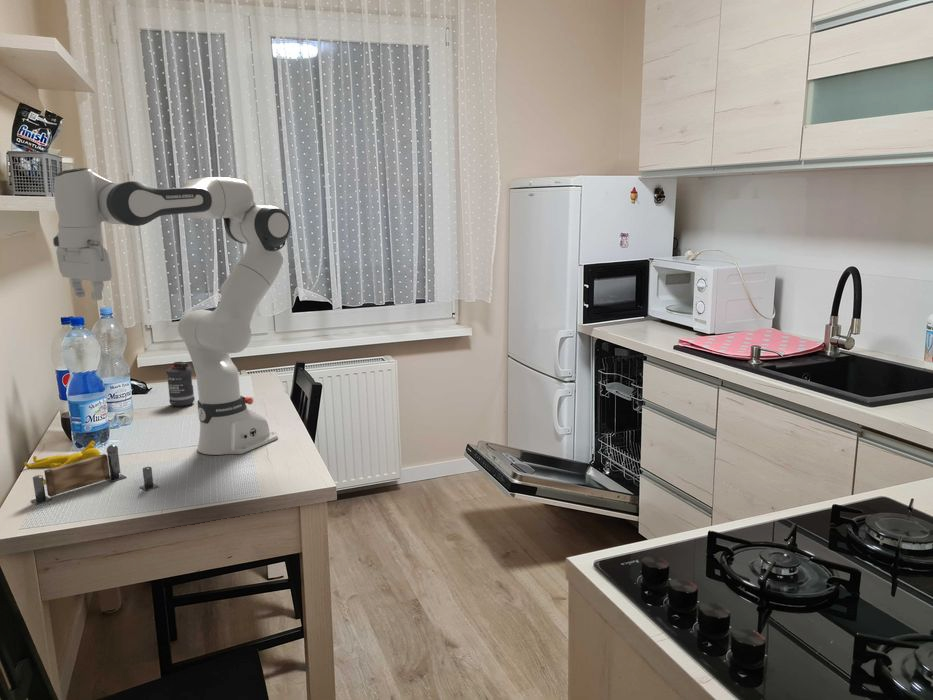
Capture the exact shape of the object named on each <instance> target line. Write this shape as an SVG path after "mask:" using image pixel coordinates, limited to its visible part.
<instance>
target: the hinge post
mask: <svg viewBox="0 0 933 700" xmlns="http://www.w3.org/2000/svg"><path fill="white" fill-rule="evenodd" d="M106 453H107V454H106V455H107V457H108V465H109V473H110V479H108V480H107V481H108V482H111V483H114V482H117V481H120V480H123V479H126V478H127V476H125V475H124V474H122V473H121V465H120V457H119V447H118V446H117V445H116V444H110V445H108V446H107V448H106Z"/></svg>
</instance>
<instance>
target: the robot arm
mask: <svg viewBox="0 0 933 700" xmlns="http://www.w3.org/2000/svg"><path fill="white" fill-rule="evenodd" d="M53 195H54V204H55V205H54V206H55V210H56V212H57V215H58V224H57V226H58V227H57V230H58V232H57V234H56V235H55V236H54V237H53V238H52V243H53V244H52V245H53V247H55V248H56V258H57V259H56V260H57V263H58V268H59V272H60V274H61V276H62V277H63V278H69V282H70V284H71V286H72V289H73V292H74V297H76V298H84V297H85V296H86V293H85V291H86V290H85V289H84V288H83V285H82V282H83V281H90V282H91V286H92V292H90V294H91V299H92V300H94V301H102V300H103V289H104V285H105V284H104V282H110V281H111V280H112V276H113V273H112V266H111V261H110V256H109V252H108V251H107V249H106V248H104V240H103V231H102V223H106V224H110V225H128V226H134V227H139V226H143V225H144V226H145V225H147V224H148V223H150V222H152V221H153V220H155V219H158V217H162V216H170V215H171V216H172V215H182V214H183V215H184V214H187V216H189V217H190V218H192V219H197V220H220V219H221V220H222V219H223V225H224V229H225V232H226V234H227V236H228V237H229V238H230V239H231V240H232V241H234V242H236V243H240V244H244V245H246V247H245V252H244V254H243V257H241V259H240V260H239V261H238V263H237V264H236V265H235V266H234V268H233V270H232V271H231V272H230V273H229V274H228V276H227V278H226V279H225V280H224V281H223V283H222V284H221V286H220V294H221V297H220V299H219V301H218V304H217V306H216V308H215V309H214V310H208V309H197V310H196V309H195V310H191V311H189V312H186V313H184V314H183V315H182V316H181V318H180V319H179V321H178V325H177V333H178V335H179V337H180V338H181V340H182V341H183V343H184V344H185V346H186V348H187V352H188V354H189V357H190V360H191V362H192V365H193V369H194V372H195V377H196V384H197V385H196V386H197V393H198V394H197V395H198V400H197V411H198V413H197V414H198V415H197V416H198V420H199V437H198V443H197V448H196V450H197V451H198V453H201V454H204V455H212V456H213V455H215V456H217V455H218V456H221V455H230V454H231V455H241V454H245V453H247V452H249V451H252V450H254V449H256V448H259V447H262V446H264V445H266V444H269V443H270V442H273V441H276V440H277V439H278V438H279V436H278V433H277V432H275V431H274V430H271V429H270V427H269V423H268V421H267V419H266V418H265V416H263V415H261V414H259V413H257V412H256V411H254V410H253V409H251V408H249V407H248V406H247V405H252V404H253V403H254V402H255V401H254V398H253V397H251V396H246V397H245V396H242V395H241V388H240V377H239V370H238V368H237V366H236V365H235V363H233V361H232V358H231V356H230V355H232V354H238V353H241V352H243V351H244V350H245V349H247V347H248V346H249V344H250V342H251V341H252V329H251V322H252V320H253V316H254V313H255V311H256V310H257V308H258V306H259V304H260V303H261V301H262V300H263V299H264V296H265V295H266V294H267V293H268V291H269V290H270V288H271V287H272V285H273V283H275V280H276V278H277V277H278V275H279V273H280V271H281V268H282V266H283V263H284V257H283V254H282V252H281V251H280V250H281V249H282V248H283V247H285V246H286V242H287V241H286V240H287V239H288V238H289V235H290V231H291V220H290V216H289V215H288V213H287V212H286V211H285V210H283V209H282V208H280V207H277V206H275V205H263V204H262V205H259V204H257V203H256V202H255V201H254V191H253V190H252V187H251V186H250V185H249V183H247V181H244V180H243V179H239V178H233V177H224V176H207V177H206V176H205V177H198V178H193V179H189V180H187V181H185V183H184V184H183V185H182V187H171V188H169V187H168V188H156V187H152V186H150V185H148V184H145V183H142V182H139V181H135V180H134V181H133V180H132V181H126V182H119V183H116V182H114V181H111V180H108V179H106V178H105V177H102V176H100V175H98V174H97V173H95V172H94V171H92V169H90V168H87V167H79V168H73V169H64V170H62V171H59V172H58V173H56V174H55V177H54V183H53Z"/></svg>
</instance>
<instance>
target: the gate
mask: <svg viewBox="0 0 933 700" xmlns="http://www.w3.org/2000/svg"><path fill="white" fill-rule="evenodd" d="M44 479H45V480H46V484H45V486H46V492H47V497H49V498H52V497H54V496H57V495H60V494H63V493H66V492H67V493H68V492H70V491H73V490H77V489H80V488H83V487H86V486H89V485H90V486H91V485H93V484H97V483H100V482H103V481H109V480H108V479H110V470H109V462H108V454H106V453H102V454H100V455H99V456H96V457H92V458H88V459H85V460H81V461H77V462H74V463H70V464H66V465H63V466H59V467H55V468H49V469H46V470H44Z"/></svg>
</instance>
